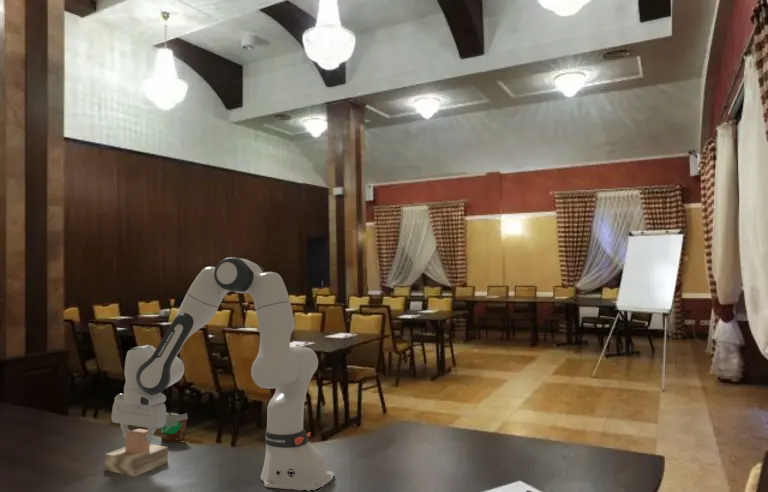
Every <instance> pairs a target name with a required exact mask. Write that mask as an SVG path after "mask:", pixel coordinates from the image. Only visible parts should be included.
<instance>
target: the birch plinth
mask: <svg viewBox="0 0 768 492" xmlns="http://www.w3.org/2000/svg"><path fill="white" fill-rule="evenodd" d="M125 449H126V446H123V447H121V448H118V449H115V450H112V451H110V452H107V453H104V471H108V472H112V473H118V474H122V475H126V476H131V477H138V476H139V475H143V474H144V473H147V472H149V471H152V470H154V469H157V468H158V467H160V466H163V465H165V464H167V463H168V462H169V461H168V459H169V458H168V457H169V454H168V453H169V446H163V445H159V444H153V443H150V449H149V450H146V451H143V452H141V453H138V454H135V453H129V452H125Z"/></svg>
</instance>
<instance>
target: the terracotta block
mask: <svg viewBox="0 0 768 492" xmlns="http://www.w3.org/2000/svg"><path fill="white" fill-rule="evenodd" d="M129 431H130V432H127V433H126V438H125V447H126V449H125V452H129V453H135V454H138V453H141V452H143V451H146V450H149V449H150V444H151V443H150V442H151V441H150V442H147V441H145V436H146V435H148V432H149V431H147V429H145V428H144V429H143V428H136V429H133V430H129Z"/></svg>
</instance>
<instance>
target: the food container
mask: <svg viewBox="0 0 768 492" xmlns="http://www.w3.org/2000/svg"><path fill="white" fill-rule="evenodd" d="M188 417H189V416H188V413H187V412H186V413H183V414H180V413H177V412H167V411H166V424H165V425H164V427H161V428H160V433H161V437H160V438H161V441H162V442H164V443H179V442H184V441H185V437H186V431H187V430H186V429H187V428H186V427H187V420H188V419H189V418H188Z"/></svg>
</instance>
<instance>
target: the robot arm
mask: <svg viewBox="0 0 768 492" xmlns="http://www.w3.org/2000/svg"><path fill="white" fill-rule="evenodd" d="M231 292H234V293H236V294H247V295H248V294H249V295H250V297H251V298H252V300H253V304H254V309H255V315H256V318H257V319H256V320H257V325H258V329H259V331H258V332H259V345H258V346H259V347H258V348H259V349H258V352H257V355H256V357H255V360H254V361H252V365H251V371H250V372H251V373H250V374H251V378H252V381H253V382H254V383H255V385H257V386H258V387H259V388H261V389H275V391H274V394H273V396H272V398H271V399H270V400H269V401H268V404H267V408H266V409H267V410H266V411H267V413H266V414H267V415H266V416H267V418H266V430H265V440H264V442H265V455H264V461H263V467H262V471H261V475H260V480H261V481H262V482H263V484H264V485H263V486H264V487H266V488H273V489H283V490H292V489H293V491H303V490H307V491H306V492H311V491H310V490H314V489H318V488H320V487H322V486H324V485H325V484H326V483H328V482H329V481H330V480H331V479H332V478H333V476H334V477H335V473H334V471H332V470H327V469H328V468H327V463H326V462H327V461H326V457H325V455H323V454H322V453H321V452H320V451H319V450H318V449H317V448H316V447H315V446H313V445H312V444H311V443H310V441H309V439H308V437H311V431H310V432H308V433H307V432H306V430H305V428H304V412H305V411H304V410H305V409H304V408H305V401H306V396H307V393H308V389H309V386H310V383H311V379H312V378H313V376H314V374H315V373H316V371H317V369H318V367H319V358H318V356H317V354H316V352H315V351H314V350H313V349H312V348H310V347H307V346H292V347H291V336H292V332H293V331H294V329H295V327H296V323H295V322H296V321H295V318H294V314H293V309H292V308H293V307H292V304H291V300H290V297H289V292H288V290H287V287H286V285H285V282H284V280H283V278H282V276H281V275H280V273H278V272H274V271H265V269H264V267H262V266H261V265H260V264H258V263H257V262H253V261H250V260H249V259H246V258H239V257H235V256H233V257H226V258H224V259H222V260H220V261H219V262H218V263H217V264H216V266H206V267H204V268H203V269H202V270H201V271H200V272H199V273H198V274H197V275H196V277H195V279H194V280H193V282H192V283H191V285H190V287H188V290H187V292H186V294H185V296H184V298H183V300H182V301H181V304H180V306H179V308H178V310H177V312H176V313H175V314H176V315H175V316H174V319H173V320H172V321H171V324H170V326H169V327H168V329H167V330H166V332H165V333H164V335H163V337H162V339H161V340H160V342H159V344H158V345H157V347H156V348H155V347H154V345H151V344H143V345H139V346H135V347H132V348H130V349H129V350H127V352H126V356H125V360H124V361H125V362H124V378H125V383H124V386H123V393H118V394H116V396H115V397H114V401H113V404H112V408H111V409H112V411H111V421H112V423H116V424H120V429H121V431H122V437H123V438H125V439H126V433H127V432H130V431H131V430H130V429H129V426H134V427H141V428H147V429H146V430H147V431H149V432H148V435H146V436H145V441H147V442H152V441H153V440H154V438H153V437H154V434H155V433H156V431H157V430H158V429H161V427H164V425H165V424H166V412H167V406H166V404H165V402H166V400H167V396H166V395H165V394H164V393H162V392H163V391H164V390H166V389H167V388H169V387H171V386H172V385H174V384H176V383H178V382H179V381H181V379H182V378H183V376H184V374H185V370H186V369H185V364H184V362H183V359H181V358H180V357H179V356H178V355H179V353H180V351H181V350H182V347H183V346H184V344H185V342H186V341H187V340H188V339H189V338H191V336H193V334H195V333H196V332H197V331H199V330H200V329H202V328H203V327H205V326H206V325H207V324H209V322H210V321H211V320H212V319H213V317H214V316H215V315H216V313H217V311H218V309H219V307H220V305H221V303H222V302H223V299H224V297H225V296H226V295H227V294H228V293H231ZM330 475H331V476H330ZM333 479H334V478H333ZM324 487H325V486H324ZM322 488H323V487H322ZM320 489H321V488H320ZM318 490H319V489H318ZM314 491H315V490H314Z"/></svg>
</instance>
